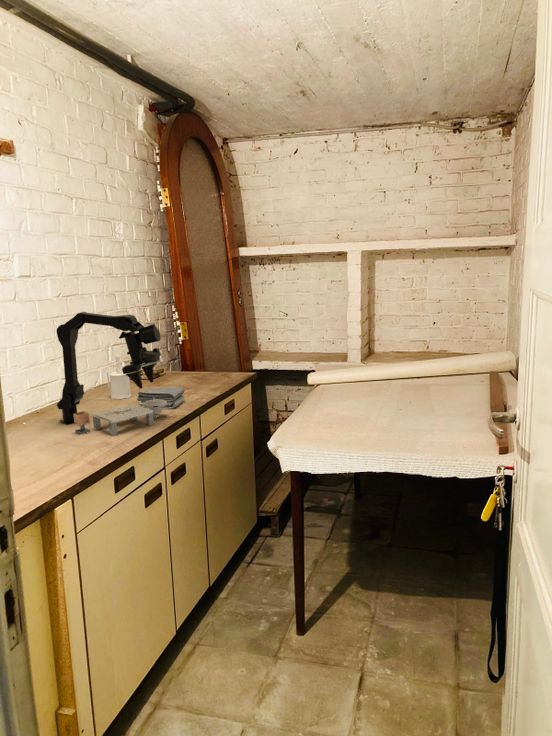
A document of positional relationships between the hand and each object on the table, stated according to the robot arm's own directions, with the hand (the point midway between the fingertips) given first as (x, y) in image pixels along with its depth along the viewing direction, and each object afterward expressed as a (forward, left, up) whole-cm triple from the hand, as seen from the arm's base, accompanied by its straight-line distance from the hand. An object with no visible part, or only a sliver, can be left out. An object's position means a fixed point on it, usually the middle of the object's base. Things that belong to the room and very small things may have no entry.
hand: (146, 385), depth 222 cm
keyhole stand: (-3, -10, -15) cm, 18 cm away
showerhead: (-5, +6, -15) cm, 17 cm away
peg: (-9, -24, -15) cm, 30 cm away
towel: (-20, +19, -16) cm, 32 cm away
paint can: (-48, +15, -15) cm, 52 cm away
